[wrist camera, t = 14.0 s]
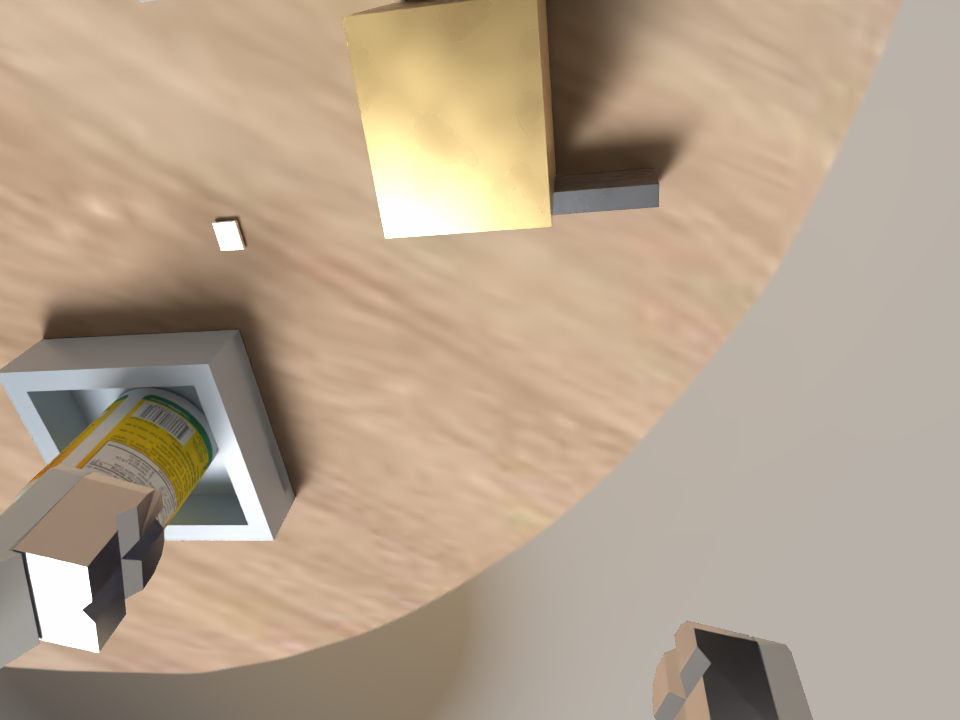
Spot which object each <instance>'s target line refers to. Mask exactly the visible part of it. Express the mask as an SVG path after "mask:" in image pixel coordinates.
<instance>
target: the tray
mask: <svg viewBox="0 0 960 720" xmlns="http://www.w3.org/2000/svg"><path fill="white" fill-rule="evenodd" d="M0 382H1V383H2V385H3V387H4V389H5V391H6V392H7V394H8V396H9V398H10V400H11V401H12V403H13V405H14V407H15V408H16V410H17V412H18V414H19V416H20V417H21V419H22V421H23V423H24V425H25V426H26V428H27V430H28V432H29V433H30V435H31V437H32V439H33V441H34V442H35V444H36V446H37V448H38V450H39V451H40V453H41V455H42V457H43V458H44V460H45V462H46V464H47V465H48V464H49V463H50V462H51V461H52V460H53V459H54V458H55V457H57V456H58V455H59V454H60V453H61V452H62V451H63V450H64V449H65V448H66V447H67V446H68V445H69V444H70V443H71V442H72V441H73V440H74V439H76V438H77V437H78V436H79V435H80V434H81V433H82V432H83V431H84V430H85V429H86V428H87V427H88V426H89V425H90V424H91V423H92V422H93V421H94V420H95V419H96V418H97V417H98V416H100V415H101V414H102V413H103V412H104V411H105V410H106V409H107V408H108V407H109V406H110V405H111V404H112V403H113V402H114V401H115V400H116V399H118V398H119V397H120V396H122V395H123V394H125V393H127V392H129V391H132V390H136V389H141V388H156V389H162V390H166V391H169V392H172V393H175V394H177V395H179V396H181V397H183V398H185V399H186V400H188V401H189V402H191V403H192V404H193V405H195V406H196V407H197V408H198V409H199V410H200V411H201V412H202V413H203V414H204V415H205V416H206V418H207V420H208V423H209V425H210V428H211V431H212V433H213V436H214V438H215V441H216V443H217V451H216V455H215V458H214V460H213V462H212V463H211V465H210V466H209V467H208V469H207V470H206V472H205V473H204V475H203V476H202V478H201V479H200V480H199V482H198V483H197V485H196V486H195V488H194V489H193V490H192V492H191V493H190V495H189V496H188V498H187V499H186V500H185V502H184V503H183V504H182V506H181V507H180V509H179V510H178V511H177V513H176V514H175V516H174V517H173V518H172V520H171V521H170V522H169V524H168V525H167V527H166V528H165V530H164V537H165V540H274V539H275V537H276V535H277V533H278V531H279V529H280V527H281V525H282V523H283V521H284V519H285V517H286V515H287V513H288V511H289V509H290V507H291V506H292V504H293V502H294V500H295V496H294V493H293V490H292V487H291V484H290V481H289V478H288V475H287V472H286V469H285V466H284V463H283V460H282V457H281V454H280V451H279V448H278V445H277V442H276V439H275V436H274V433H273V430H272V427H271V424H270V421H269V418H268V415H267V412H266V409H265V406H264V403H263V400H262V397H261V394H260V391H259V388H258V385H257V382H256V379H255V376H254V373H253V370H252V367H251V364H250V361H249V358H248V355H247V352H246V349H245V346H244V343H243V340H242V337H241V334H240V331H239V330H220V331H200V332H180V333H161V334H141V335H121V336H102V337H82V338H62V339H42V340H41V341H39V342H38V343H37V344H35V345H34V346H32V347H31V348H30V349H28V350H27V351H26V352H24V353H23V354H21V355H20V356H19V357H17V358H16V359H14V360H13V361H12V362H10V363H9V364H8V365H6V366H5V367H3V368H2V369H1V370H0Z"/></svg>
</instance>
